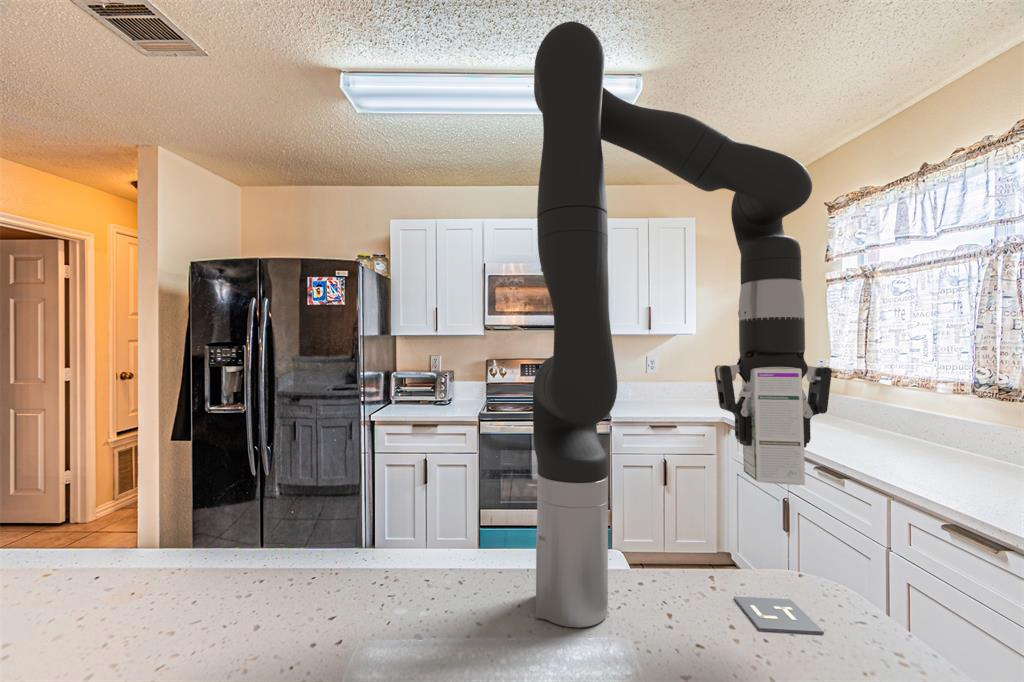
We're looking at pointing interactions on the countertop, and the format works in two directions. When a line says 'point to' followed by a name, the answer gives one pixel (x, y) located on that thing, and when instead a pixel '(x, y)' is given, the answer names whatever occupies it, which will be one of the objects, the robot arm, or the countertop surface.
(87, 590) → the countertop surface
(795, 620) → the tile
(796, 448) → the syrup box
